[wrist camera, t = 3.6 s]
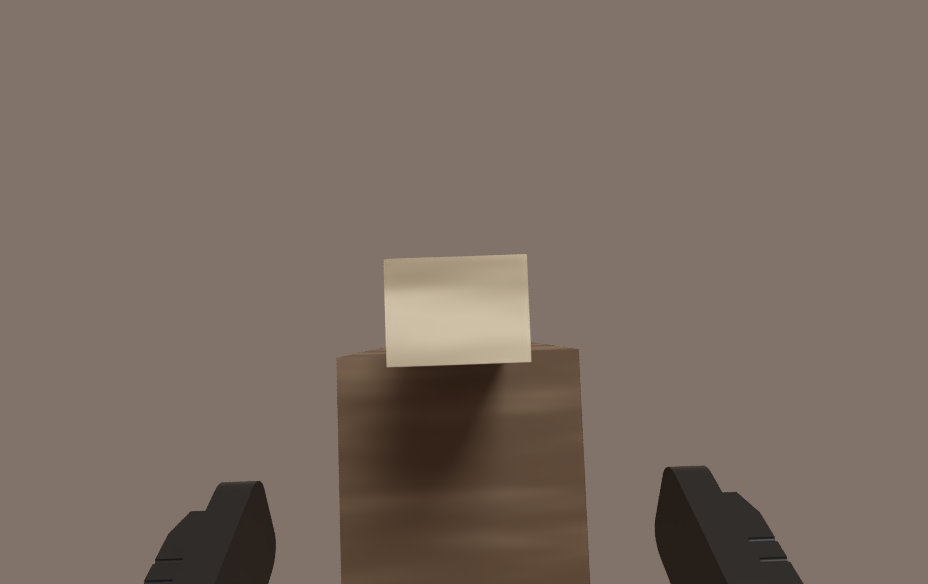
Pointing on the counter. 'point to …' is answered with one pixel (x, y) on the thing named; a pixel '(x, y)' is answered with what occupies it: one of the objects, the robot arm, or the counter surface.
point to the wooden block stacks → (462, 471)
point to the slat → (457, 310)
